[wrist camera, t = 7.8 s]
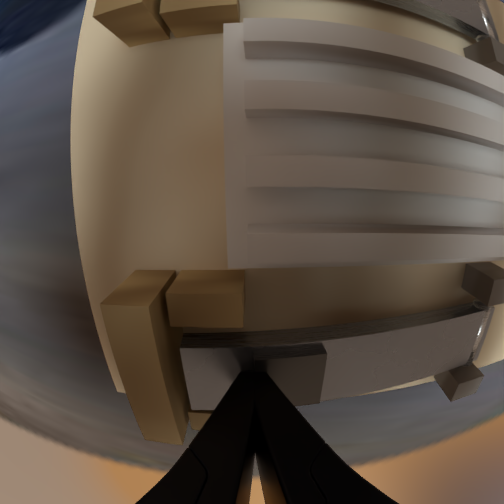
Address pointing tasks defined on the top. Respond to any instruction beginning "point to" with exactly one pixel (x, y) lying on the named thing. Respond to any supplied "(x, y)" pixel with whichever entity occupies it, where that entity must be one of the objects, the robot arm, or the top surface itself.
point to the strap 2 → (454, 15)
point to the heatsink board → (280, 178)
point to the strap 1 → (336, 355)
